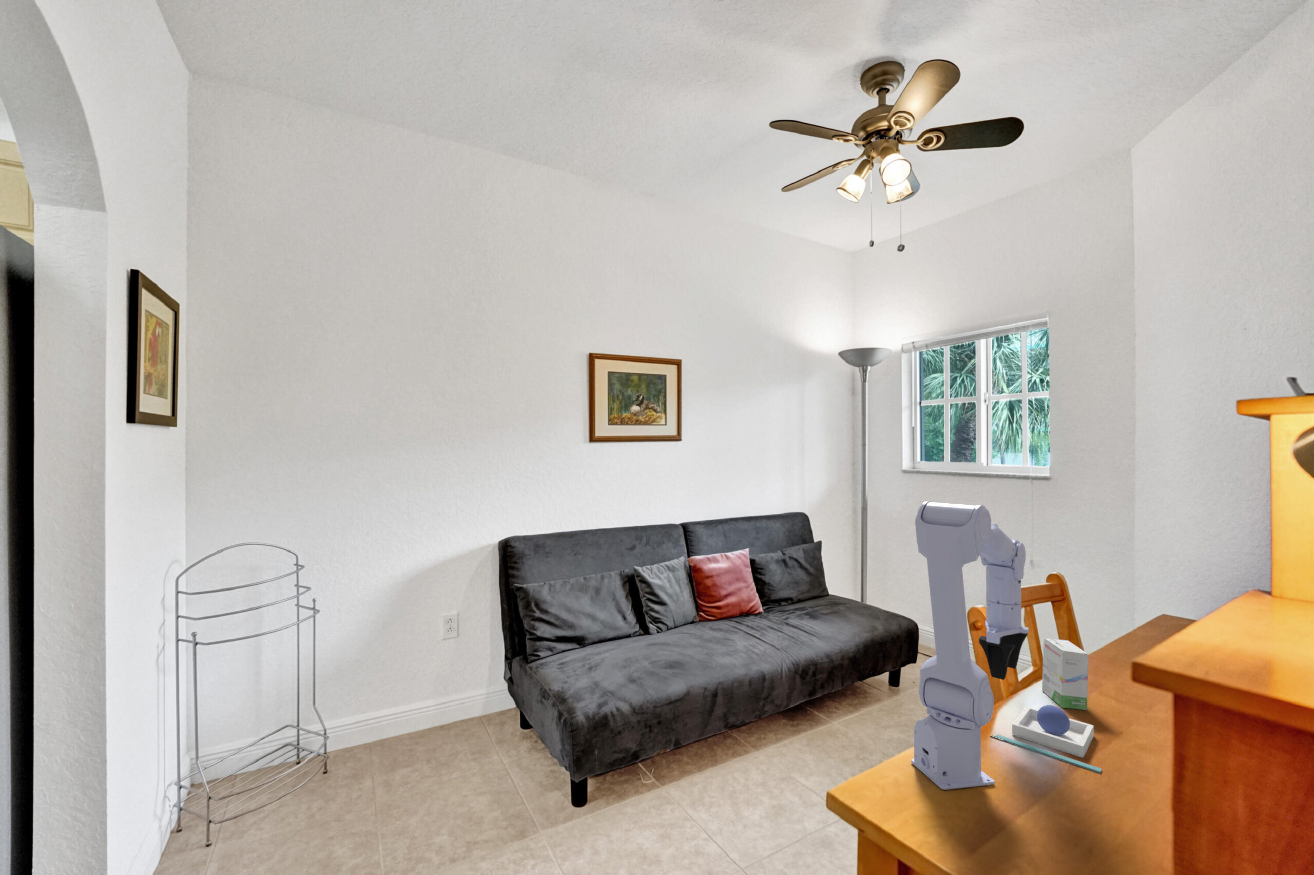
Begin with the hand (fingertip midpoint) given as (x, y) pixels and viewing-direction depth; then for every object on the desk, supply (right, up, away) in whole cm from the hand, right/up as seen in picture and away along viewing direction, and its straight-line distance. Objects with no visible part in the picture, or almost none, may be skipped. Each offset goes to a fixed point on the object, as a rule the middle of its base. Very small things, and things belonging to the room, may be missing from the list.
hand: (1003, 672), depth 105 cm
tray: (+7, -10, -3) cm, 13 cm away
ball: (+7, -8, -3) cm, 11 cm away
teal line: (+1, -10, -9) cm, 14 cm away
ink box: (+20, -11, +11) cm, 26 cm away
